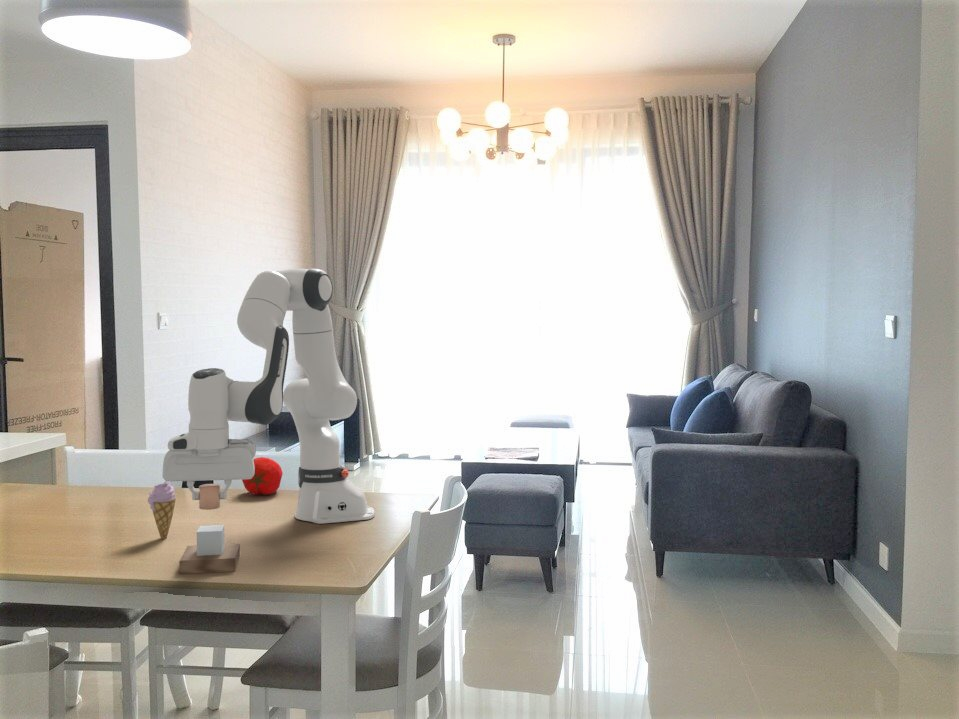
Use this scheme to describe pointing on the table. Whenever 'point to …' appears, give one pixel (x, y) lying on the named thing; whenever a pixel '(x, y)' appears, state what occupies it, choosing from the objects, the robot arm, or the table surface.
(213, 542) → the white cube
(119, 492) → the table surface
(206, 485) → the peach rounded block
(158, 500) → the ice cream cone
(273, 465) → the tomato
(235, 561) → the walnut plinth
